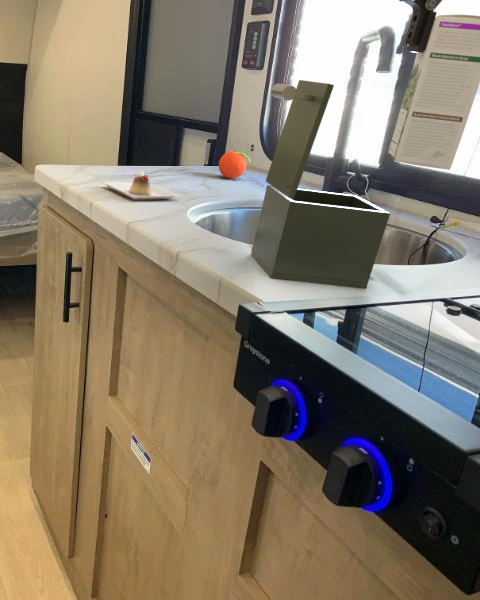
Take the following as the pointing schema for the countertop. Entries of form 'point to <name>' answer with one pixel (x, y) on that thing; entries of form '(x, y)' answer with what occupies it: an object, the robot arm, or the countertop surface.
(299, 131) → the bin lid
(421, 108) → the syrup box
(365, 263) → the trash bin
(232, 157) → the clementine
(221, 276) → the countertop surface
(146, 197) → the dessert
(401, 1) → the robot arm
